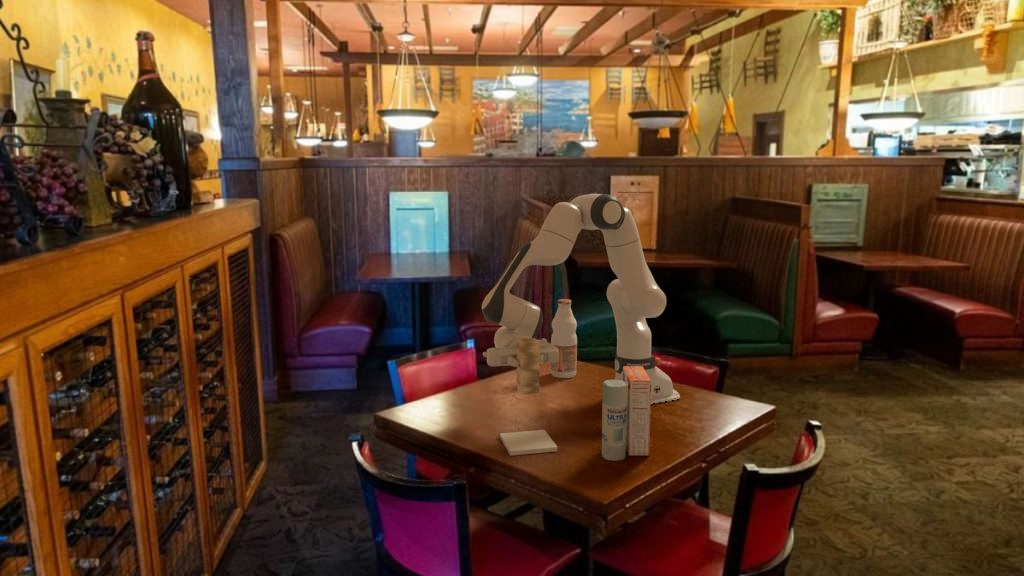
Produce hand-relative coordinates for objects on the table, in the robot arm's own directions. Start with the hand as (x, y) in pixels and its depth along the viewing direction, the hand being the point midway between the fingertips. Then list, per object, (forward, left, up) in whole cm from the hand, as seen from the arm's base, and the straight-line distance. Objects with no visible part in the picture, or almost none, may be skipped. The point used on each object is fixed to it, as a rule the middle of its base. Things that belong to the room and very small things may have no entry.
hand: (528, 363), depth 190 cm
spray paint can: (-20, +12, -23) cm, 33 cm away
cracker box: (-28, +7, -23) cm, 37 cm away
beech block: (0, -1, -8) cm, 8 cm away
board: (0, -1, -23) cm, 23 cm away
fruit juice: (-29, -62, -23) cm, 72 cm away
